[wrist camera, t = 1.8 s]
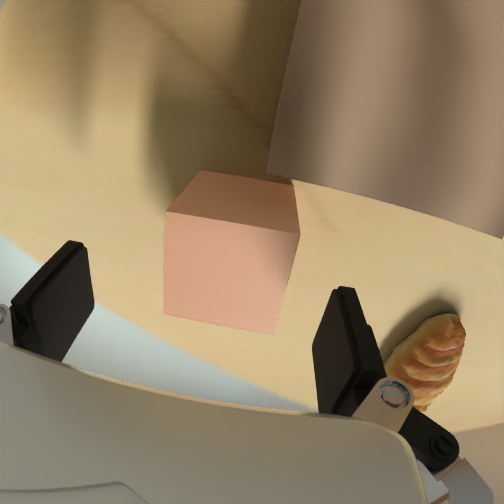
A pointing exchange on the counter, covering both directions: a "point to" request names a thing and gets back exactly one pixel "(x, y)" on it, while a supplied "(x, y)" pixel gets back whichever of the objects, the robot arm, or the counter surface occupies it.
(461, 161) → the taupe streaked block
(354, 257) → the counter surface
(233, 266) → the terracotta block
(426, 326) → the pastry
